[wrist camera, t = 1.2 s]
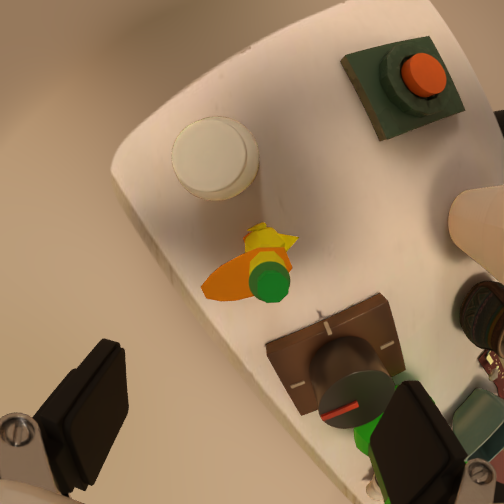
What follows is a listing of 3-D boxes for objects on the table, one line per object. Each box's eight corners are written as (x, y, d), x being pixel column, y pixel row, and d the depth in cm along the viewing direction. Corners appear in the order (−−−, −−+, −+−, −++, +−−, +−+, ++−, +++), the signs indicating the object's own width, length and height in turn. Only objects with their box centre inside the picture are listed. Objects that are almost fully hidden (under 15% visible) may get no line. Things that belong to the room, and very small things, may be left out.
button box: (421, 41, 21) (438, 29, 18) (456, 112, 23) (476, 107, 19) (339, 61, 22) (351, 47, 19) (379, 141, 24) (396, 137, 20)
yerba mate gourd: (449, 288, 27) (507, 329, 17) (496, 263, 26) (555, 292, 17) (452, 341, 29) (498, 389, 19) (496, 315, 28) (545, 352, 18)
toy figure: (227, 274, 27) (207, 346, 15) (210, 237, 26) (175, 286, 15) (299, 245, 26) (332, 300, 15) (284, 207, 25) (307, 233, 14)
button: (424, 55, 19) (433, 49, 17) (442, 92, 20) (453, 88, 18) (393, 63, 19) (402, 56, 18) (413, 102, 20) (423, 97, 18)
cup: (485, 272, 27) (550, 308, 16) (420, 258, 26) (490, 301, 16) (503, 186, 24) (575, 197, 14) (440, 158, 24) (520, 158, 13)
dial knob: (365, 324, 26) (388, 358, 20) (381, 374, 27) (401, 410, 22) (299, 354, 27) (307, 394, 21) (321, 400, 28) (332, 440, 22)
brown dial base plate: (377, 284, 27) (386, 292, 25) (400, 365, 29) (407, 376, 27) (261, 336, 28) (262, 348, 26) (301, 409, 31) (304, 421, 29)
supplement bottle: (267, 142, 24) (274, 122, 15) (247, 203, 25) (241, 219, 16) (205, 124, 24) (177, 96, 15) (186, 184, 25) (147, 189, 16)
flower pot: (463, 429, 33) (487, 465, 24) (436, 420, 32) (462, 462, 23) (500, 387, 31) (529, 420, 22) (477, 373, 30) (511, 411, 21)
